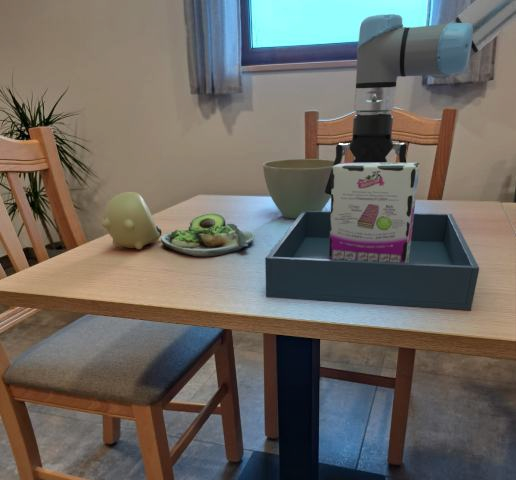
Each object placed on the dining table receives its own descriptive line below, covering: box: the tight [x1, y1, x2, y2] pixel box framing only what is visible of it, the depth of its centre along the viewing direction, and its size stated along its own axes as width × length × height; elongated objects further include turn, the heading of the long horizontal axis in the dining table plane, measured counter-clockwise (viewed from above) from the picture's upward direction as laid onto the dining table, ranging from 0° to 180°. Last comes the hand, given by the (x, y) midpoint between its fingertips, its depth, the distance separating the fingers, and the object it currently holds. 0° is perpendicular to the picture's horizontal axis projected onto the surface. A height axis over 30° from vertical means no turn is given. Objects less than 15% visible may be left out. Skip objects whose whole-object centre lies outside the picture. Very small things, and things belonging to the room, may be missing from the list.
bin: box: [264, 210, 480, 311], centre depth 76 cm, size 28×32×6 cm
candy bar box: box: [329, 162, 420, 263], centre depth 66 cm, size 11×5×16 cm, turn 67°
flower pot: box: [262, 158, 335, 220], centre depth 111 cm, size 18×18×12 cm
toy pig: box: [101, 191, 163, 250], centre depth 91 cm, size 10×12×11 cm
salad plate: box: [160, 213, 255, 257], centre depth 91 cm, size 19×18×5 cm
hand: (364, 228), depth 100 cm, fingers open, 10 cm apart
